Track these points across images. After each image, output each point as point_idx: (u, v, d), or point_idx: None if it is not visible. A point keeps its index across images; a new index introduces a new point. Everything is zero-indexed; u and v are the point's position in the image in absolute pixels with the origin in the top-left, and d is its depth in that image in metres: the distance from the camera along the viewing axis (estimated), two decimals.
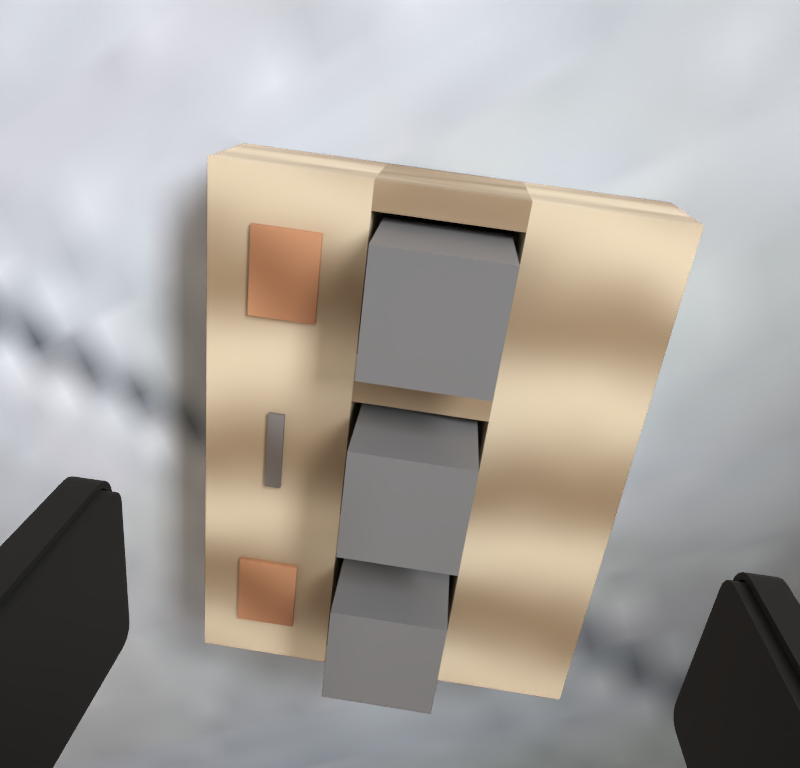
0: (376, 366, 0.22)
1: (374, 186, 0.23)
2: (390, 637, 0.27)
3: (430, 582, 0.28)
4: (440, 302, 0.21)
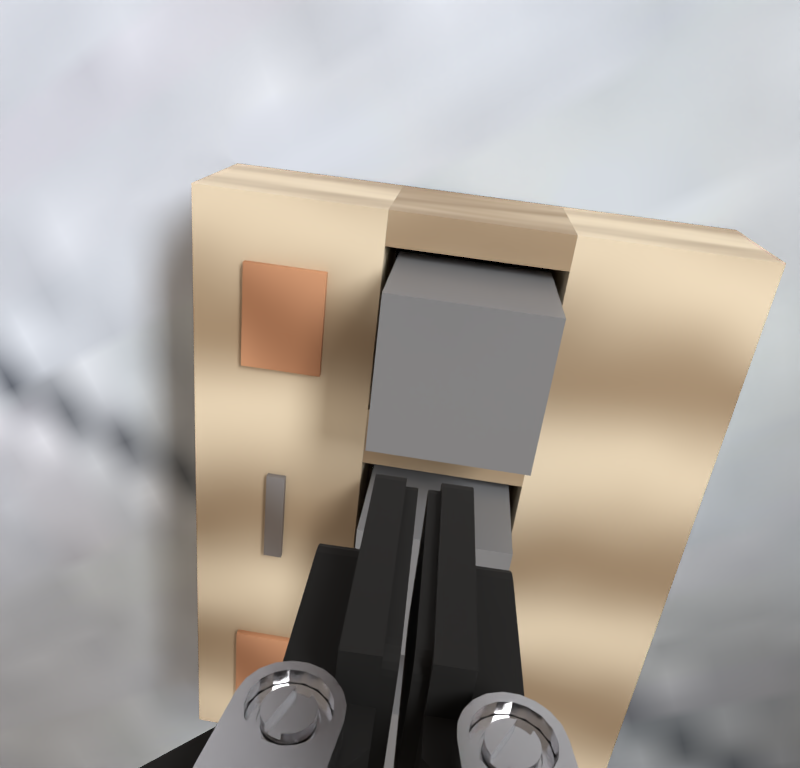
0: (391, 434, 0.18)
1: (388, 217, 0.19)
2: None
3: None
4: (468, 360, 0.17)
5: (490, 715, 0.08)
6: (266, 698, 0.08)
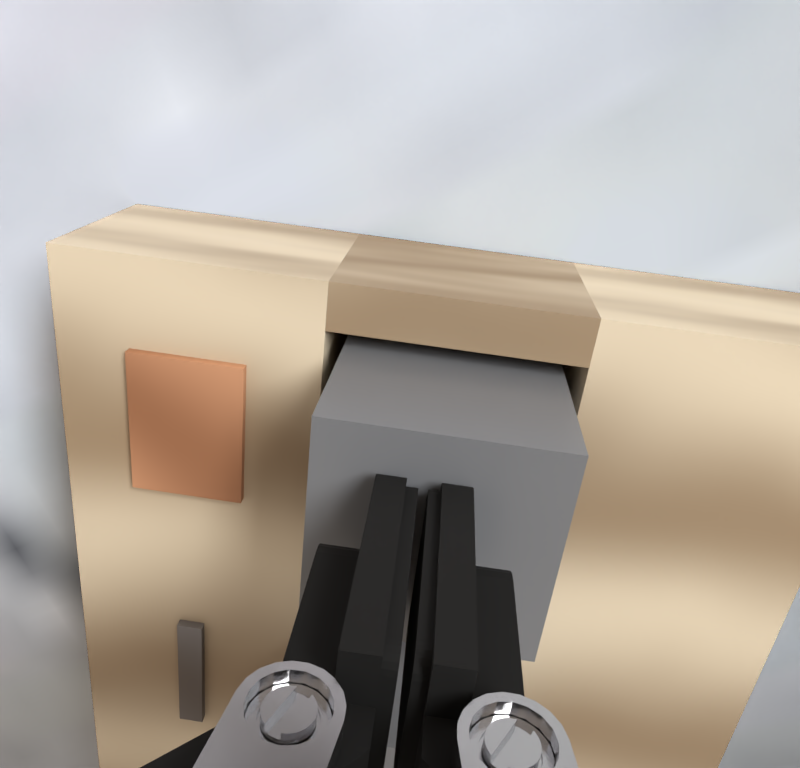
0: None
1: (329, 292, 0.13)
2: None
3: None
4: None
5: (490, 715, 0.08)
6: (266, 698, 0.08)
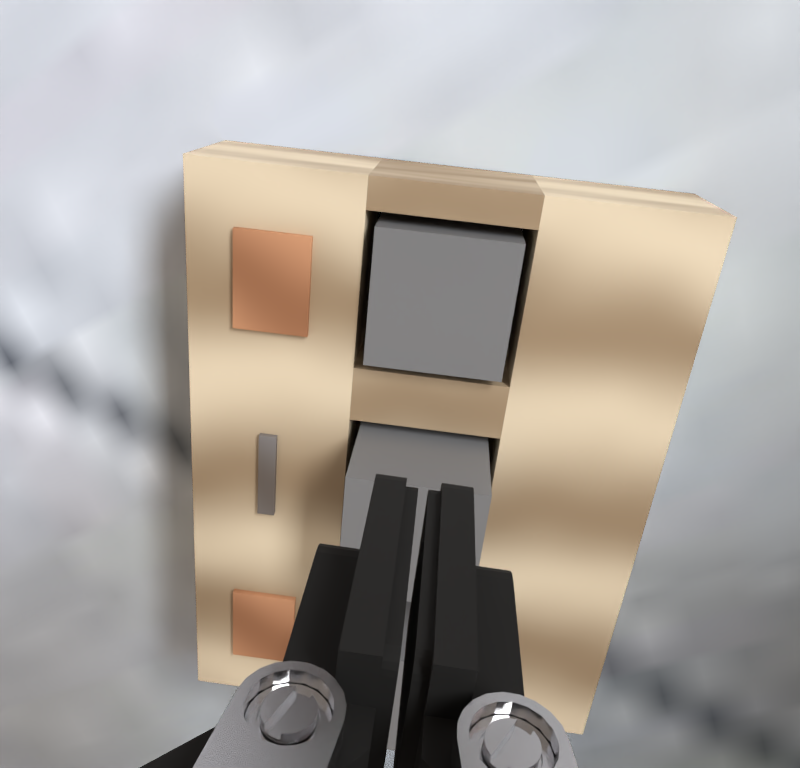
0: (384, 349, 0.22)
1: (368, 182, 0.20)
2: (398, 677, 0.24)
3: None
4: (447, 283, 0.21)
5: (490, 715, 0.08)
6: (266, 698, 0.08)
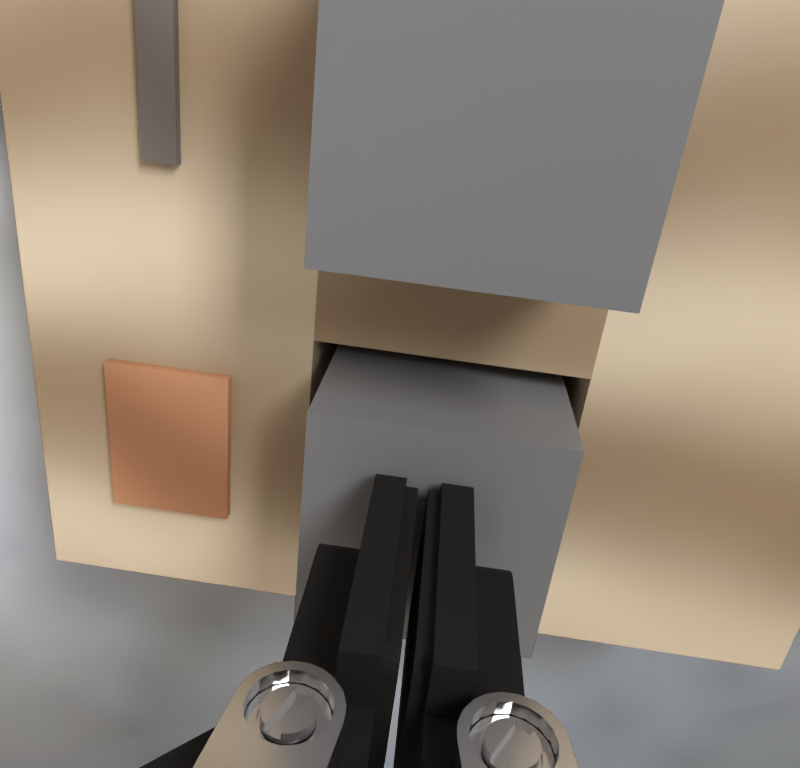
0: None
1: None
2: (448, 474, 0.11)
3: (524, 378, 0.13)
4: None
5: (490, 715, 0.08)
6: (266, 698, 0.08)
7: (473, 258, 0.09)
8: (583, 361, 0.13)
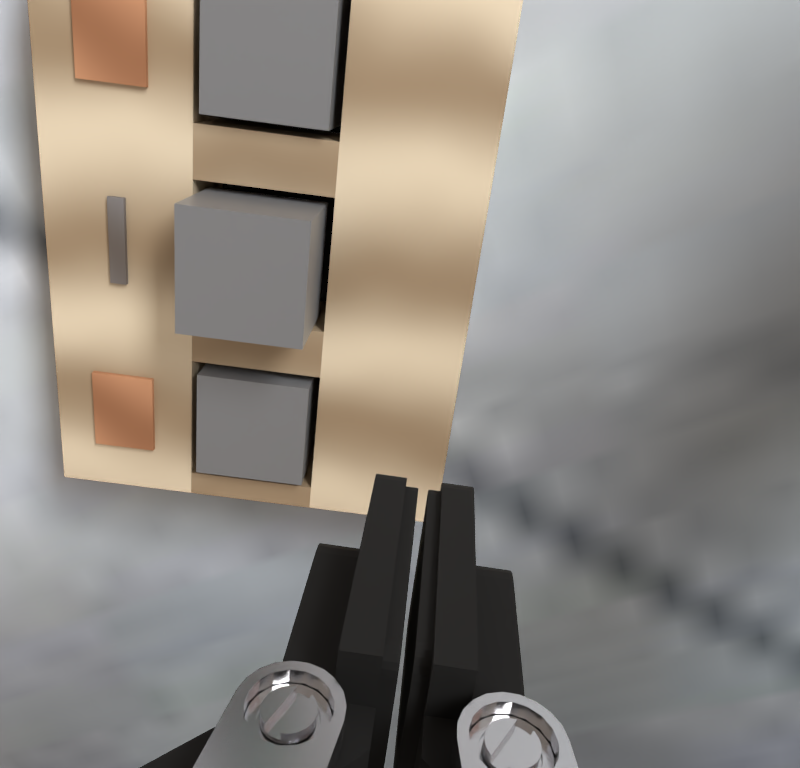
0: (218, 97, 0.24)
1: None
2: (256, 400, 0.28)
3: None
4: (270, 24, 0.23)
5: (490, 715, 0.08)
6: (266, 698, 0.08)
7: (238, 329, 0.24)
8: (315, 369, 0.28)
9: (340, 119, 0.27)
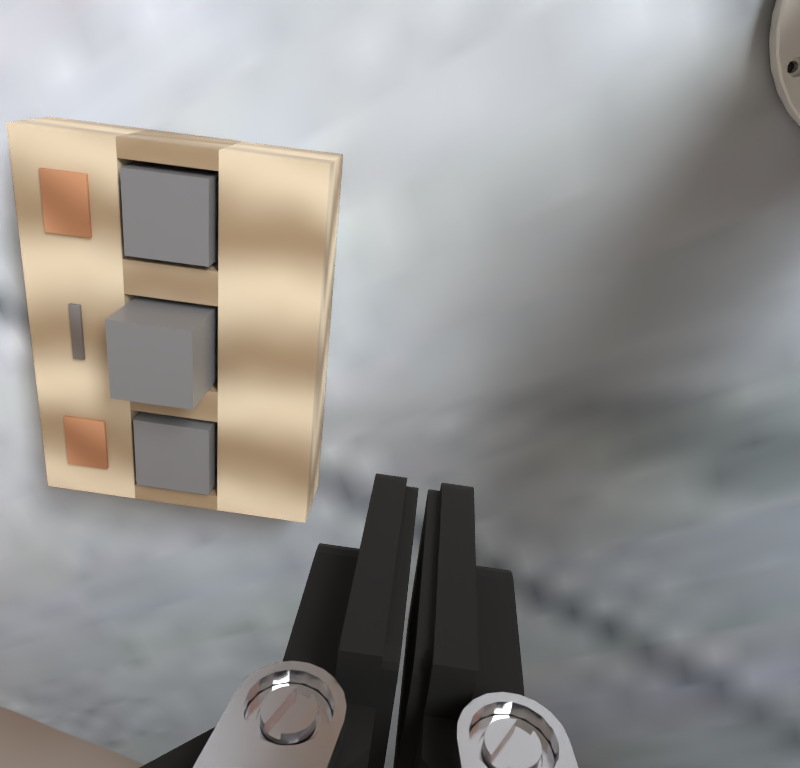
0: (136, 245, 0.36)
1: (116, 141, 0.34)
2: (174, 437, 0.40)
3: None
4: (166, 203, 0.35)
5: (490, 715, 0.08)
6: (266, 698, 0.08)
7: (150, 396, 0.37)
8: (214, 416, 0.40)
9: None
